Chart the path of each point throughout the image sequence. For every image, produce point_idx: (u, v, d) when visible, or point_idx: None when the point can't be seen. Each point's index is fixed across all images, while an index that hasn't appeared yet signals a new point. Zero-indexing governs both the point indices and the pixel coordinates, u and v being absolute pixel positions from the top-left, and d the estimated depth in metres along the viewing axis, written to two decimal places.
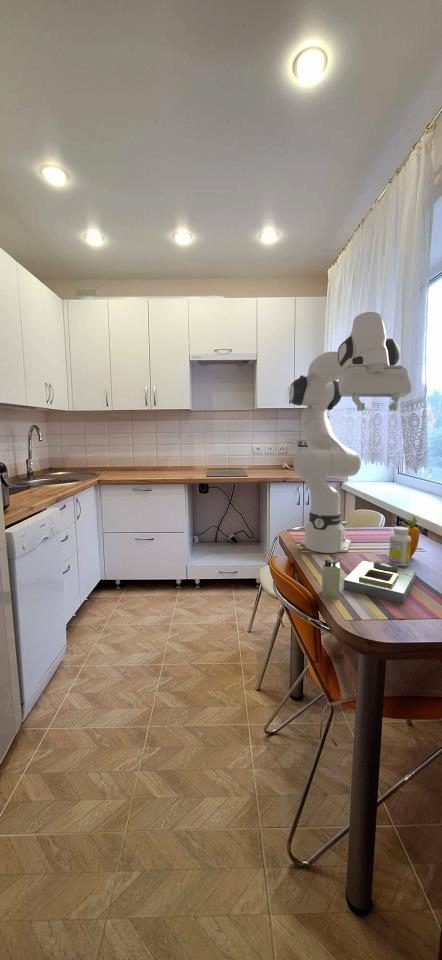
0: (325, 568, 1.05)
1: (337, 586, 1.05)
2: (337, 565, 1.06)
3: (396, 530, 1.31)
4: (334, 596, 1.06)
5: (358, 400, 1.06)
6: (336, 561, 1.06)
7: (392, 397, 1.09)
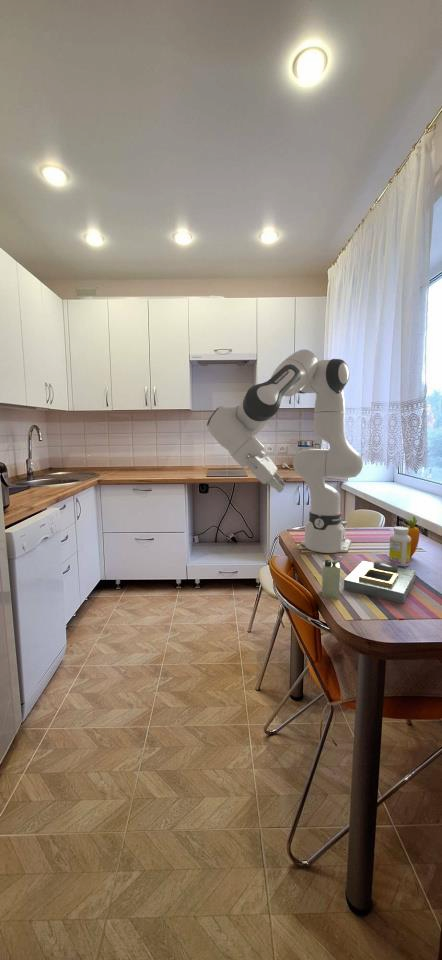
0: (325, 568, 1.05)
1: (337, 586, 1.05)
2: (337, 565, 1.06)
3: (396, 530, 1.31)
4: (334, 596, 1.06)
5: None
6: (336, 561, 1.06)
7: None
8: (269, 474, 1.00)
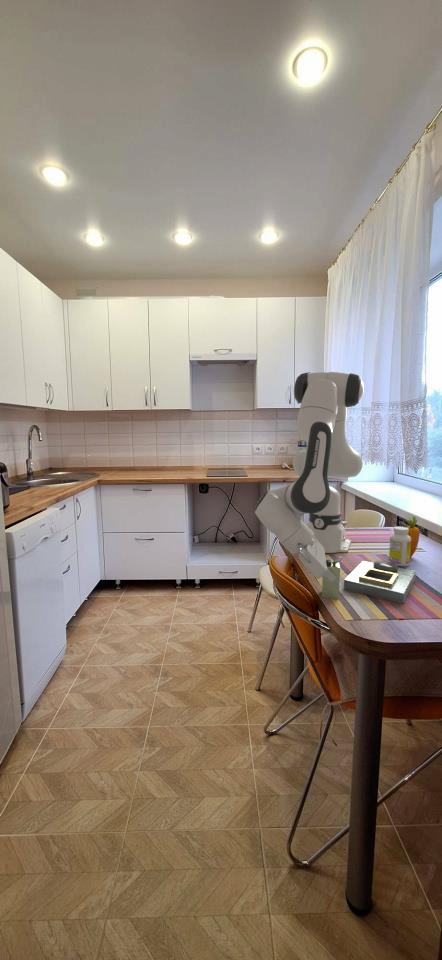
0: None
1: (337, 586, 1.05)
2: (337, 565, 1.06)
3: (396, 530, 1.31)
4: (334, 596, 1.06)
5: None
6: (336, 561, 1.06)
7: None
8: (323, 570, 0.98)
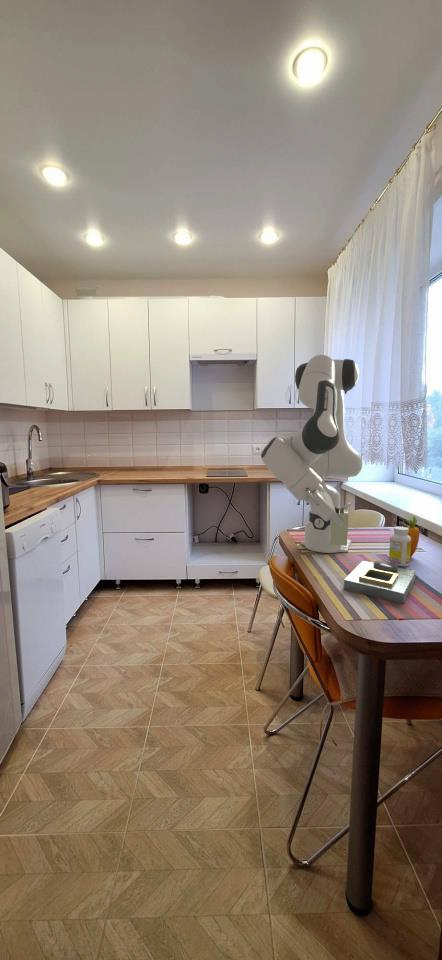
0: None
1: (345, 532, 1.04)
2: (345, 511, 1.05)
3: (396, 530, 1.31)
4: (342, 542, 1.04)
5: None
6: (344, 507, 1.05)
7: None
8: (332, 512, 0.96)
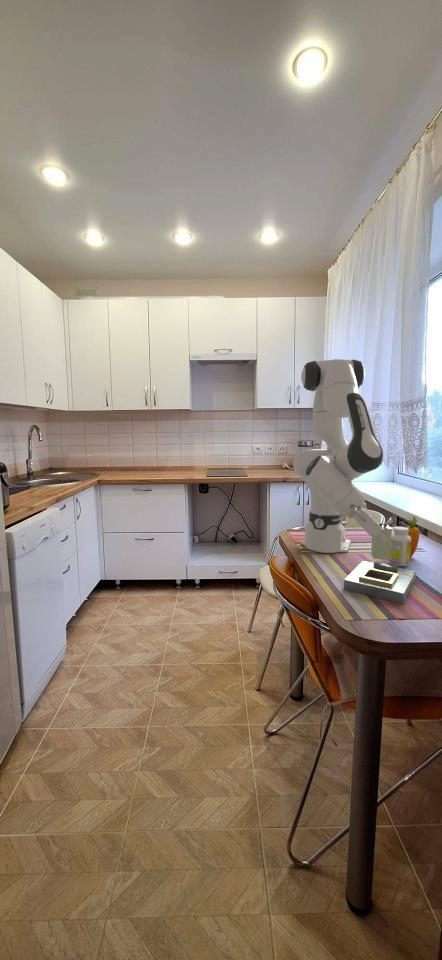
0: None
1: (388, 547, 1.08)
2: (388, 527, 1.10)
3: (396, 530, 1.31)
4: (385, 557, 1.09)
5: None
6: (387, 523, 1.09)
7: None
8: (379, 528, 1.01)
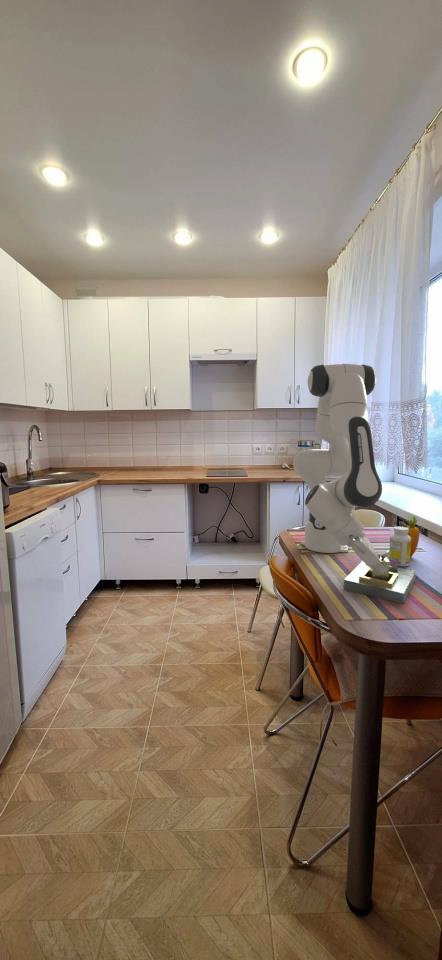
0: None
1: (386, 579, 1.10)
2: (386, 559, 1.11)
3: (396, 530, 1.31)
4: None
5: None
6: (385, 555, 1.11)
7: None
8: (377, 560, 1.02)
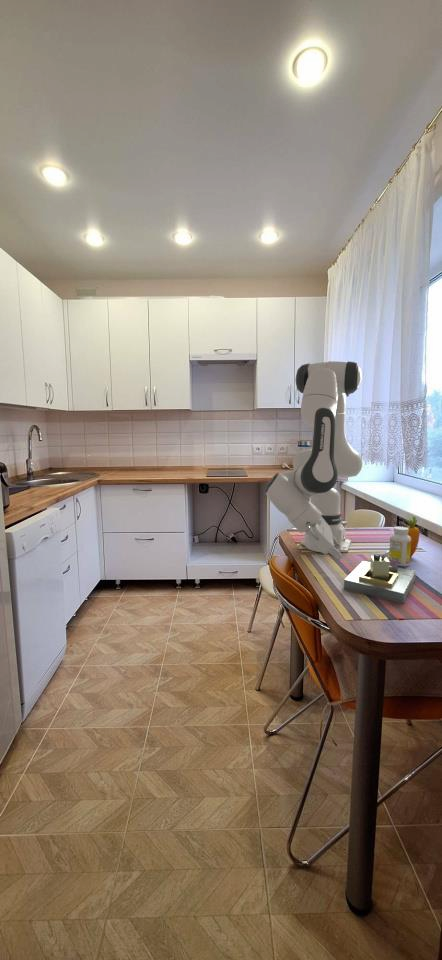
0: (375, 562, 1.10)
1: (386, 579, 1.10)
2: (386, 559, 1.11)
3: (396, 530, 1.31)
4: None
5: None
6: (385, 555, 1.11)
7: None
8: (331, 546, 1.05)
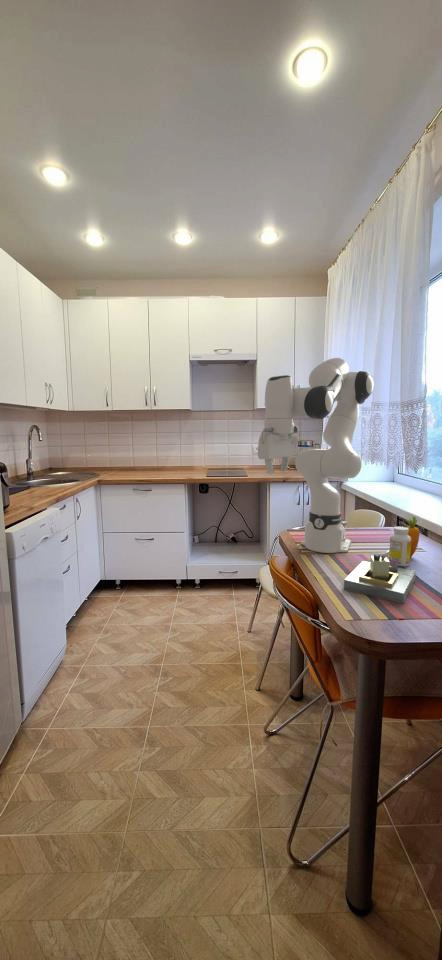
0: (375, 562, 1.10)
1: (386, 579, 1.10)
2: (386, 559, 1.11)
3: (396, 530, 1.31)
4: None
5: None
6: (385, 555, 1.11)
7: None
8: (266, 455, 1.12)
